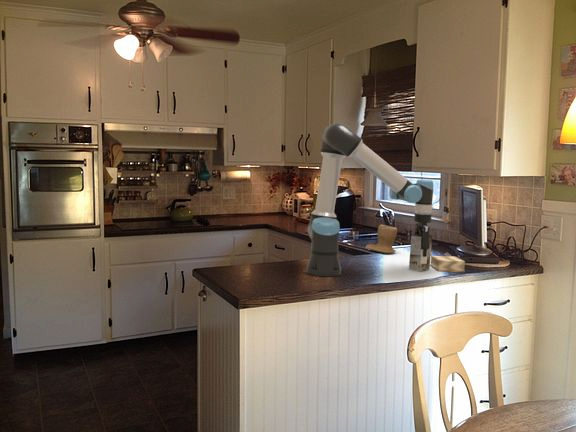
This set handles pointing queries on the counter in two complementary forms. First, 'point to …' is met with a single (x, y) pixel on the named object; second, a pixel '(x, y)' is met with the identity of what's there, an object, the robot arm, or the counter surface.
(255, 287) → the counter surface
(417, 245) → the coffee box
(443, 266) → the maple riser
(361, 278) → the counter surface
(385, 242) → the tan boot
